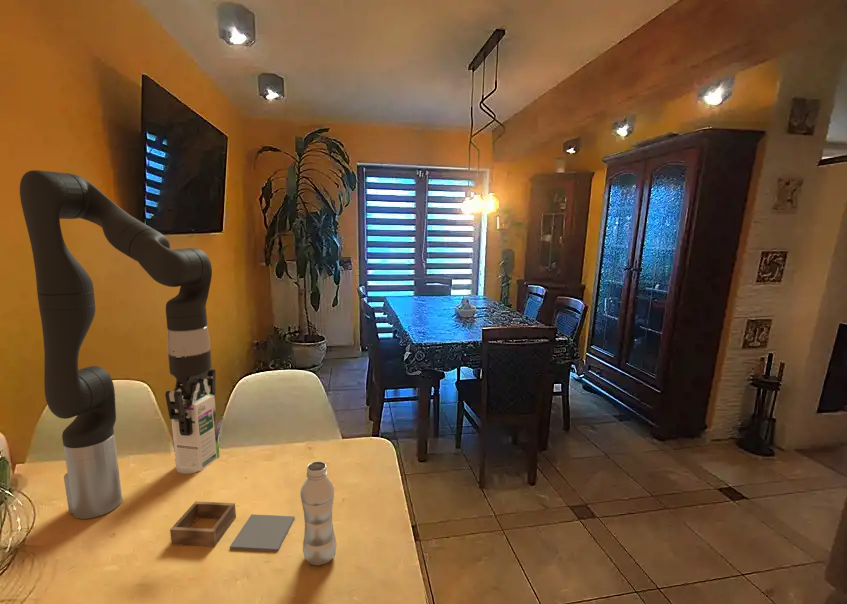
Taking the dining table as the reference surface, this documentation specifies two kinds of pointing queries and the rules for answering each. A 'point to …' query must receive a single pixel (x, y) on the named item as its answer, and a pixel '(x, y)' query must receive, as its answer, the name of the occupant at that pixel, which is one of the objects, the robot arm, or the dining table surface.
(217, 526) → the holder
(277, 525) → the coaster
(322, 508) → the plastic bottle
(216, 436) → the syrup box
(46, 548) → the dining table surface
